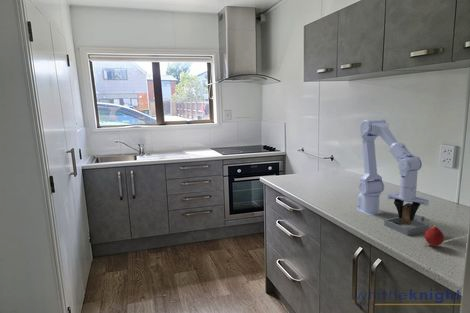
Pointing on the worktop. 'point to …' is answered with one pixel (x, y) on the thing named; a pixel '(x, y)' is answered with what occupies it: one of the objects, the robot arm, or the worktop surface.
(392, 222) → the bin
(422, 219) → the plate
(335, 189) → the worktop surface
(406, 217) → the brown wooden cylinder
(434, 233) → the onion
